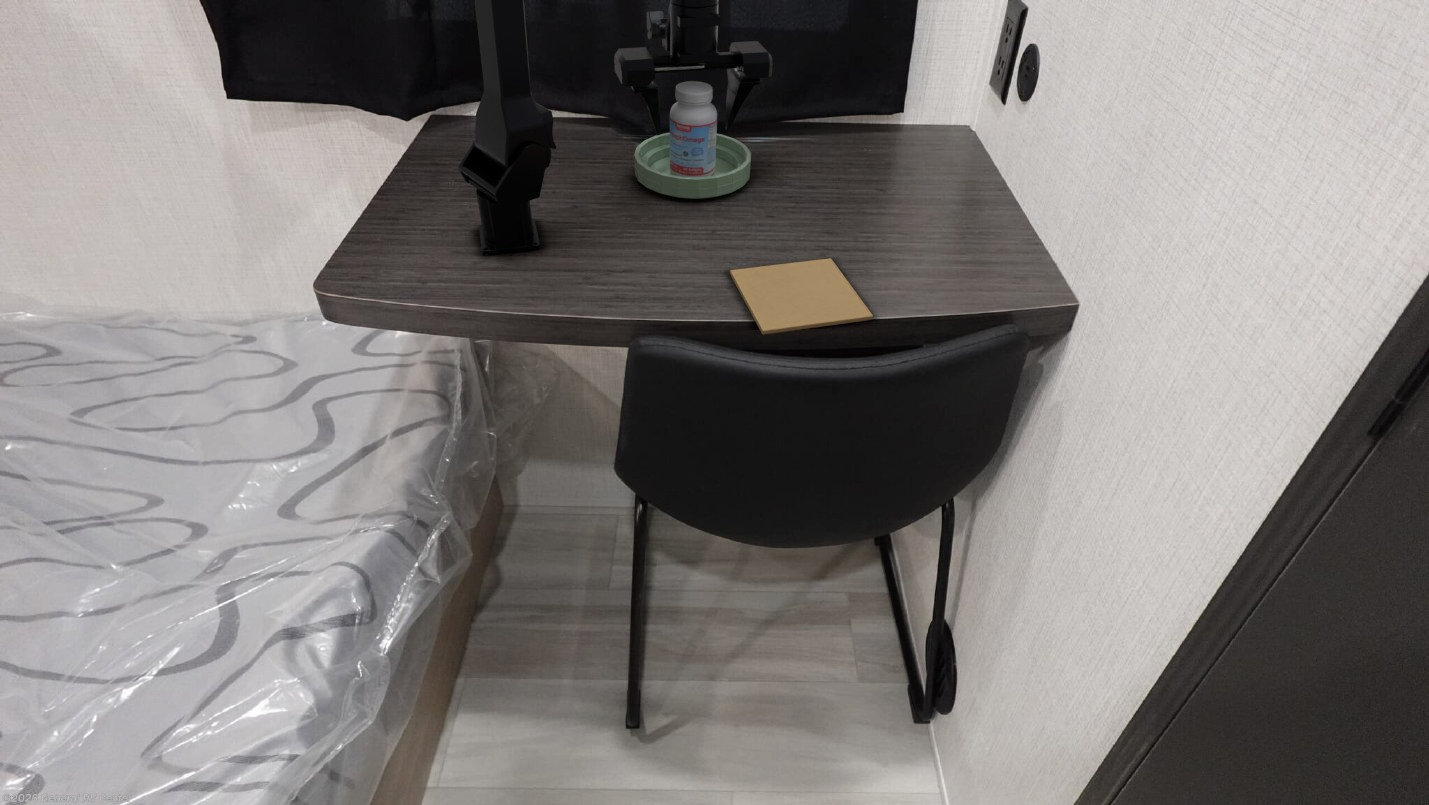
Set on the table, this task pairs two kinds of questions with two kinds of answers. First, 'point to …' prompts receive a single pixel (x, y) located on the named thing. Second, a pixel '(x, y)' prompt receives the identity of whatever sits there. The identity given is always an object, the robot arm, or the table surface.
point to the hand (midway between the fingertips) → (692, 131)
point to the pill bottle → (693, 130)
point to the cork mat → (799, 296)
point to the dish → (724, 180)
